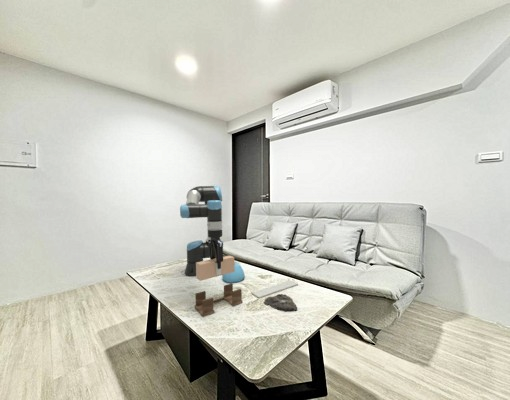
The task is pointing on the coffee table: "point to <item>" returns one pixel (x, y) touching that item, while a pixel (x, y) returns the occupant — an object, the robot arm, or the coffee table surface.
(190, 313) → the coffee table surface
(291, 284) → the baseboard
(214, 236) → the robot arm
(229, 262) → the peach rectangular block
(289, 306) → the dark grey rock
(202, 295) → the rack
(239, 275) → the sugar bowl
